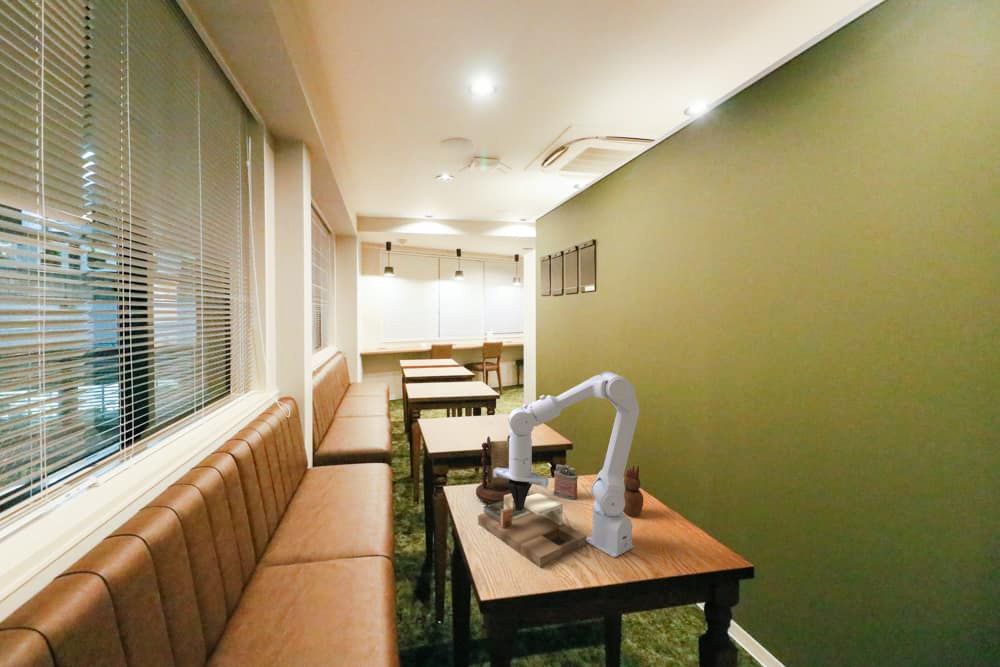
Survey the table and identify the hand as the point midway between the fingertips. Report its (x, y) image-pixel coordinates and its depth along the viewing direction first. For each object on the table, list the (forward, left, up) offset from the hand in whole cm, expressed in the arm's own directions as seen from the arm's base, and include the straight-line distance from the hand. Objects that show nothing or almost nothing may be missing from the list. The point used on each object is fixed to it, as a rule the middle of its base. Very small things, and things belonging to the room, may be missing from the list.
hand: (519, 509), depth 108 cm
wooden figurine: (-7, -37, -10) cm, 39 cm away
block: (+12, -7, -7) cm, 15 cm away
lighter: (+13, -30, -10) cm, 34 cm away
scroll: (+25, -12, -10) cm, 29 cm away
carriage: (+10, -4, -6) cm, 13 cm away
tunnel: (+2, -6, -9) cm, 11 cm away
